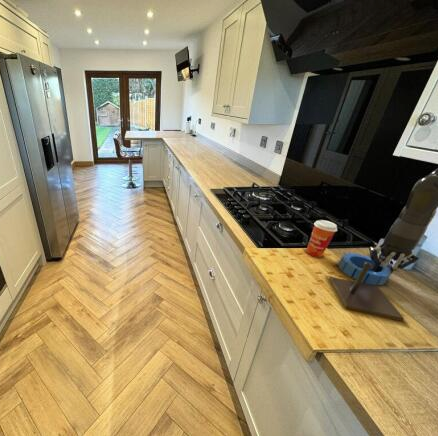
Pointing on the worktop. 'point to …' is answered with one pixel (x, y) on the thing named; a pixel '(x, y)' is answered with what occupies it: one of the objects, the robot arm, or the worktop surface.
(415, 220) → the robot arm
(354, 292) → the brown peg stand
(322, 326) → the worktop surface
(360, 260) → the blue notched ring
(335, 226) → the paper cup
